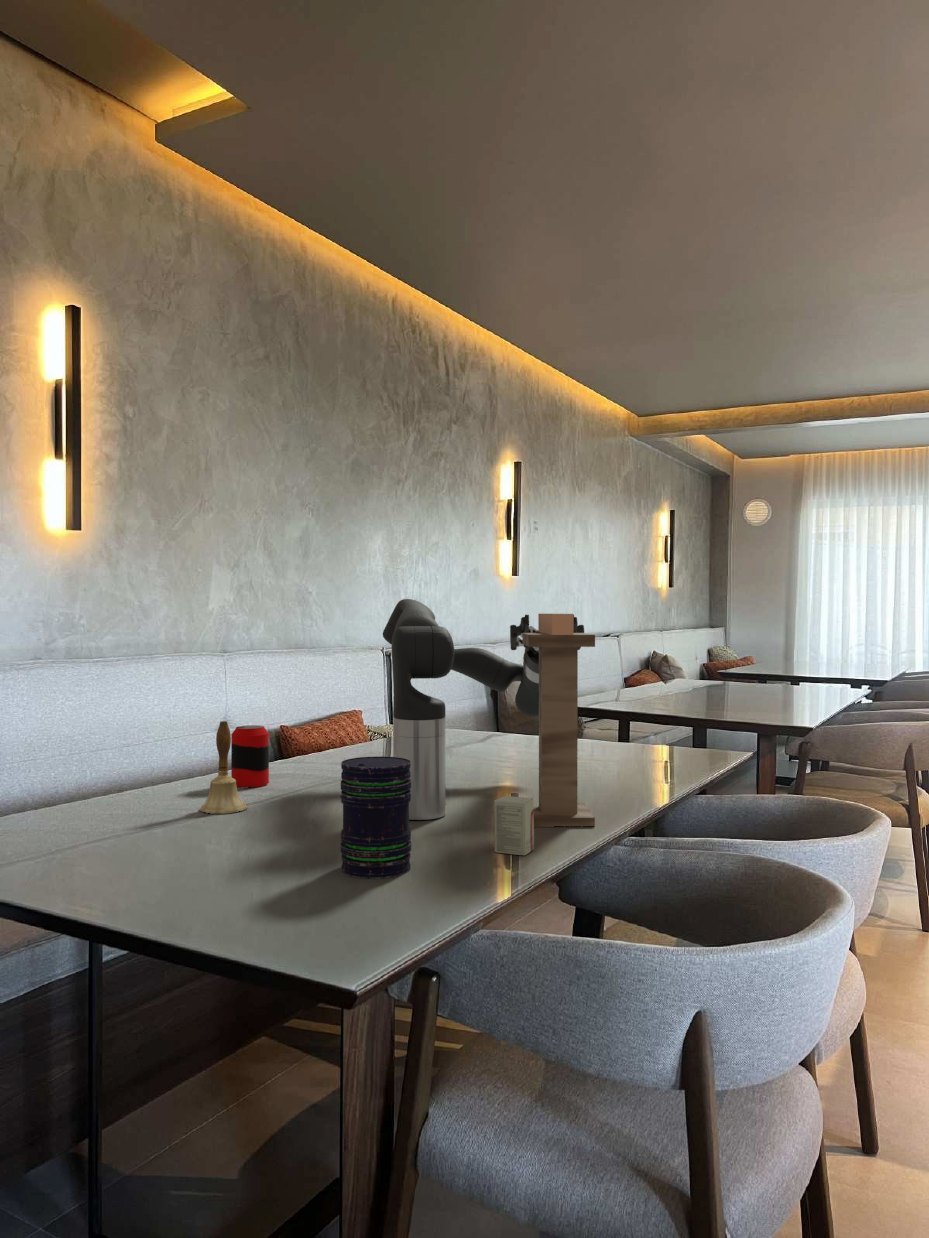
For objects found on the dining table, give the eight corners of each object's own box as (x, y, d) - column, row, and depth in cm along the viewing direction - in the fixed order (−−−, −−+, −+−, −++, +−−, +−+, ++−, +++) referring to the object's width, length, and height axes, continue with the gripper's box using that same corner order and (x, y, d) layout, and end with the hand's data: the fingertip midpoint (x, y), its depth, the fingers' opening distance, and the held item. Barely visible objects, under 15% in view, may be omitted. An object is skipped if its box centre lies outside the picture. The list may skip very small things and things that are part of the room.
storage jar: (376, 855, 138) (376, 754, 138) (426, 867, 132) (426, 760, 131) (325, 870, 130) (325, 762, 130) (376, 883, 124) (376, 770, 124)
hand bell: (196, 807, 172) (196, 720, 172) (241, 803, 176) (241, 718, 176) (203, 816, 165) (203, 725, 164) (251, 811, 168) (251, 722, 168)
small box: (535, 849, 141) (535, 797, 141) (525, 856, 138) (525, 802, 137) (503, 846, 143) (503, 794, 143) (493, 852, 140) (493, 799, 139)
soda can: (230, 782, 197) (230, 725, 197) (267, 780, 199) (267, 724, 199) (232, 789, 190) (232, 729, 189) (270, 787, 192) (270, 728, 192)
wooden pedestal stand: (594, 826, 157) (595, 634, 156) (528, 826, 156) (529, 634, 156) (582, 808, 171) (583, 632, 170) (522, 809, 170) (522, 632, 170)
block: (573, 634, 155) (573, 613, 155) (552, 634, 155) (552, 613, 155) (556, 631, 179) (556, 613, 179) (538, 631, 179) (538, 613, 179)
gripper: (578, 674, 188) (589, 636, 174) (507, 675, 188) (512, 636, 174) (576, 642, 192) (586, 601, 178) (506, 642, 192) (511, 601, 178)
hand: (549, 618), depth 176 cm, fingers open, 8 cm apart
